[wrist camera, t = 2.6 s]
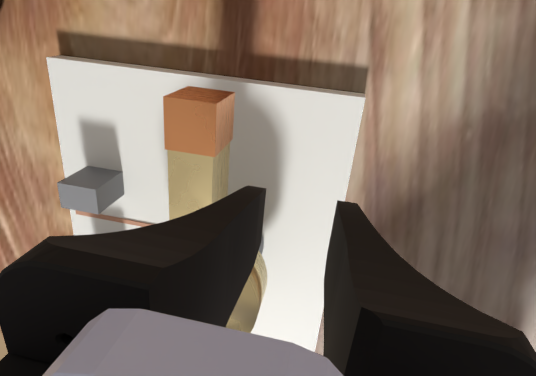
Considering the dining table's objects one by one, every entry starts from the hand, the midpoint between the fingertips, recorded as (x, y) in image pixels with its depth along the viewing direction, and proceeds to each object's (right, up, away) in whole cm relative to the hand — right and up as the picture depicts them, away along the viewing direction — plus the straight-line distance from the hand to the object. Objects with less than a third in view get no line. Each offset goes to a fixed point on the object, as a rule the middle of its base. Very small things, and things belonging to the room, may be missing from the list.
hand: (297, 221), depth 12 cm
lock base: (-5, -1, +13) cm, 14 cm away
